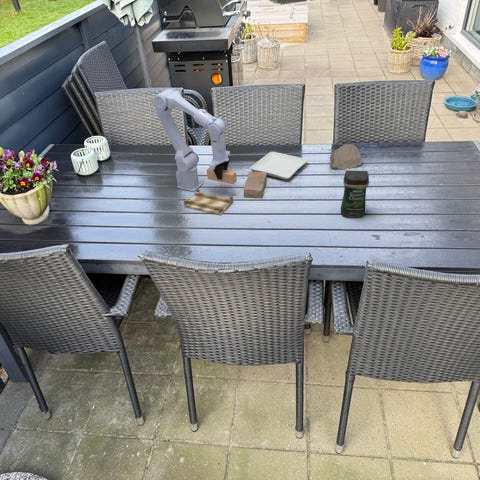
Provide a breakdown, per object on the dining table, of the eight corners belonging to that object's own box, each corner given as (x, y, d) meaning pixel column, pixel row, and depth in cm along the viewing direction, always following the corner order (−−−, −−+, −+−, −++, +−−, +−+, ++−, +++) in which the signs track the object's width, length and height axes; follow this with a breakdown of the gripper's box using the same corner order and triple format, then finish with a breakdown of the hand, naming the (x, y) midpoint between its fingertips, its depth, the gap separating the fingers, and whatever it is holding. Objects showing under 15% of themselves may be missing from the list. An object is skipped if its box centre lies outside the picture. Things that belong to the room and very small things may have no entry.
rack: (184, 207, 193) (183, 201, 191) (198, 194, 200) (197, 189, 199) (220, 215, 185) (220, 209, 183) (233, 202, 193) (232, 196, 191)
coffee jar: (340, 218, 178) (344, 176, 167) (340, 207, 184) (343, 167, 173) (366, 219, 176) (371, 177, 165) (364, 208, 183) (369, 167, 172)
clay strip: (207, 179, 198) (206, 169, 195) (211, 175, 200) (210, 166, 198) (233, 184, 193) (232, 175, 190) (236, 181, 195) (236, 171, 192)
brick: (262, 199, 194) (261, 189, 192) (243, 198, 196) (242, 188, 193) (267, 180, 208) (266, 171, 205) (249, 180, 209) (248, 171, 206)
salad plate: (309, 164, 218) (309, 158, 216) (288, 184, 204) (288, 177, 202) (270, 156, 228) (270, 150, 225) (248, 174, 213) (248, 168, 211)
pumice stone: (331, 170, 211) (332, 150, 205) (328, 163, 217) (329, 143, 211) (363, 168, 210) (365, 148, 205) (360, 161, 217) (362, 142, 211)
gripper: (218, 156, 181) (221, 186, 189) (235, 142, 191) (237, 171, 199) (203, 154, 184) (207, 183, 192) (221, 140, 194) (223, 168, 202)
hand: (221, 177), depth 196 cm, fingers closed on clay strip, 3 cm apart
